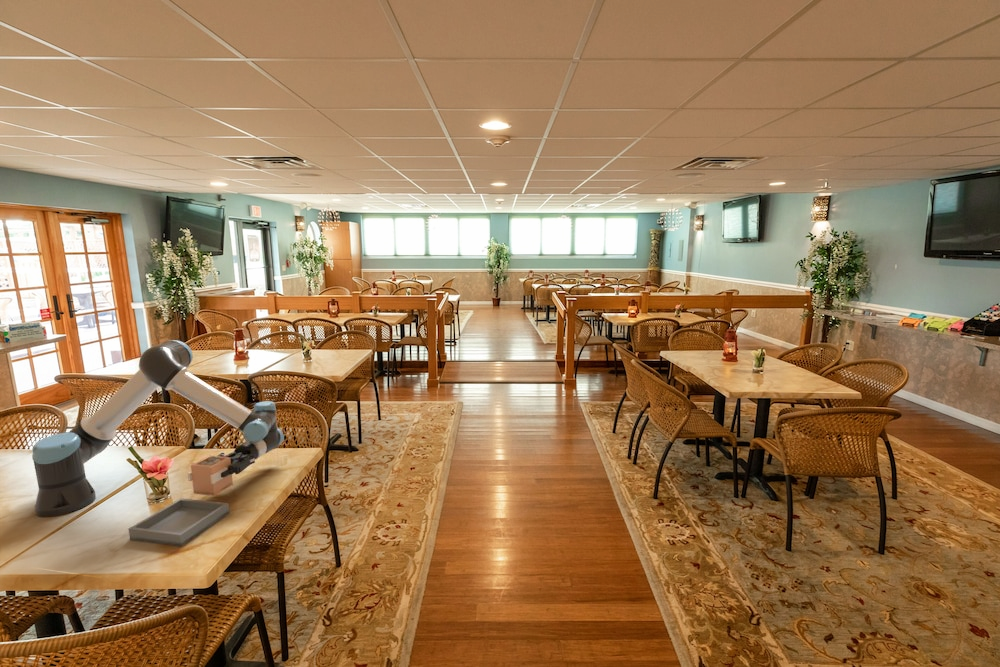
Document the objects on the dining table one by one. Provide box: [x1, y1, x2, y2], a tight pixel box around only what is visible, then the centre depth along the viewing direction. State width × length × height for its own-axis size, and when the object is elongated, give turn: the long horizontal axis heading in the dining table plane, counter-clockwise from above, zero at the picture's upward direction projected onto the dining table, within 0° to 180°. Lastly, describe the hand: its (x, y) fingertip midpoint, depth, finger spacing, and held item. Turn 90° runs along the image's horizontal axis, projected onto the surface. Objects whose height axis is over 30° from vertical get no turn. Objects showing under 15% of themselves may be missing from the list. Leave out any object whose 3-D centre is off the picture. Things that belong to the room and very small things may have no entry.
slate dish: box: [128, 497, 230, 547], centre depth 145 cm, size 18×18×4 cm
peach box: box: [190, 455, 234, 497], centre depth 159 cm, size 8×8×11 cm
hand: (200, 478), depth 154 cm, fingers closed on peach box, 8 cm apart
